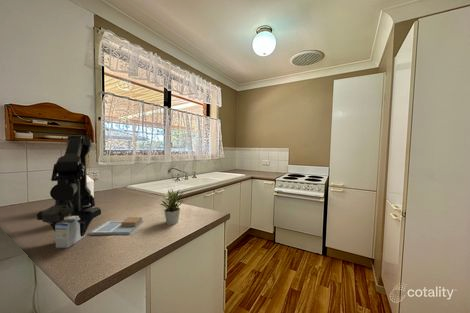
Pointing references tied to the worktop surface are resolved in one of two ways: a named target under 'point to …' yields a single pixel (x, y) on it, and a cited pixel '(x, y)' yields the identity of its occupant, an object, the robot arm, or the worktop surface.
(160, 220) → the worktop surface
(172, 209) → the house plant
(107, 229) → the board
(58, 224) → the medicine box
